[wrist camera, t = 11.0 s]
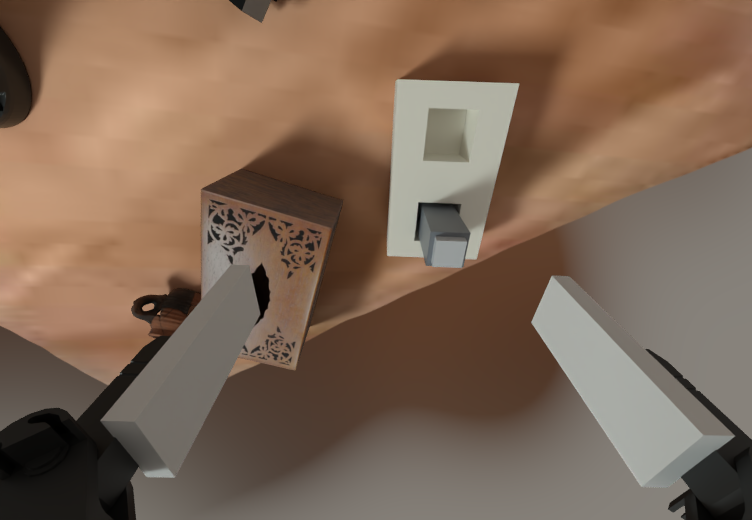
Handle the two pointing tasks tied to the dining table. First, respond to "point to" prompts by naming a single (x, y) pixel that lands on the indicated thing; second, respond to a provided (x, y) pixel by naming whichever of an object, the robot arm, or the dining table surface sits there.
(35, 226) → the dining table surface
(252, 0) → the office tray
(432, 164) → the socket block
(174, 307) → the pottery mug
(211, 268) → the tissue box cover
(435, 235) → the plug
